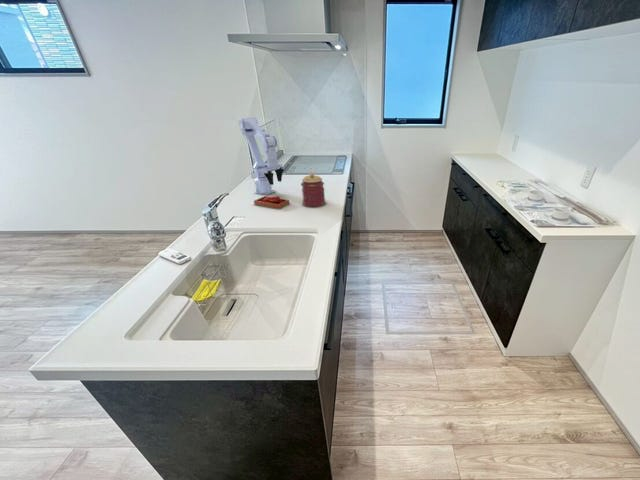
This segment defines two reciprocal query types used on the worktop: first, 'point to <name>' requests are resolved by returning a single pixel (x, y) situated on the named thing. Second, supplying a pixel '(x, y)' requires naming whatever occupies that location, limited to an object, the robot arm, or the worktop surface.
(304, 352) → the worktop surface
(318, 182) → the kitchen canister
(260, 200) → the tray
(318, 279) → the worktop surface
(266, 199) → the vegetable
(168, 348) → the worktop surface
